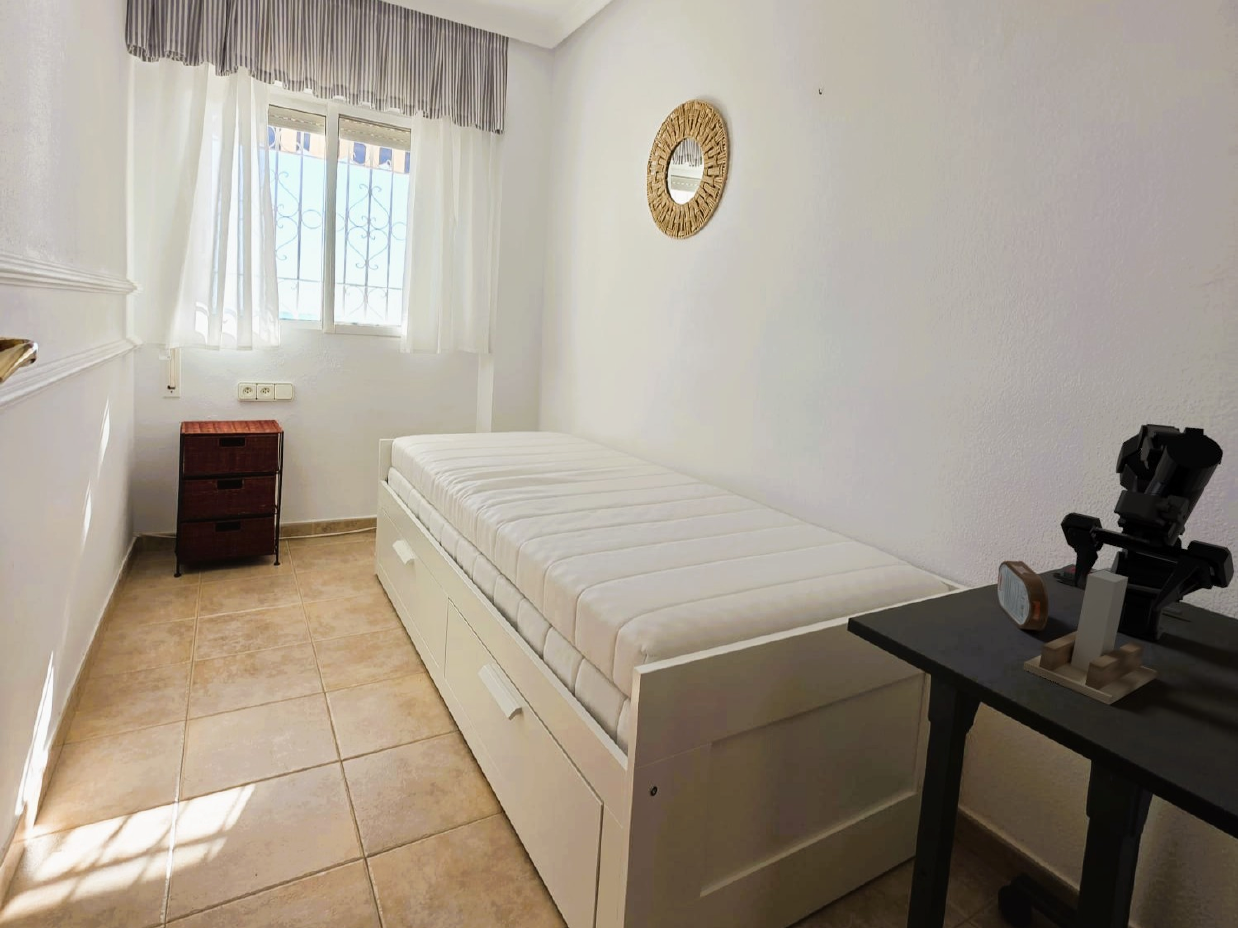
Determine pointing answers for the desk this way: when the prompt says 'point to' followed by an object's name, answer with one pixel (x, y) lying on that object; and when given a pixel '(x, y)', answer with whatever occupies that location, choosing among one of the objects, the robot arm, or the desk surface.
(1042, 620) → the tin
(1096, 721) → the desk surface
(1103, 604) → the clay bar
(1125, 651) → the rack
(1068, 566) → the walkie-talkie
